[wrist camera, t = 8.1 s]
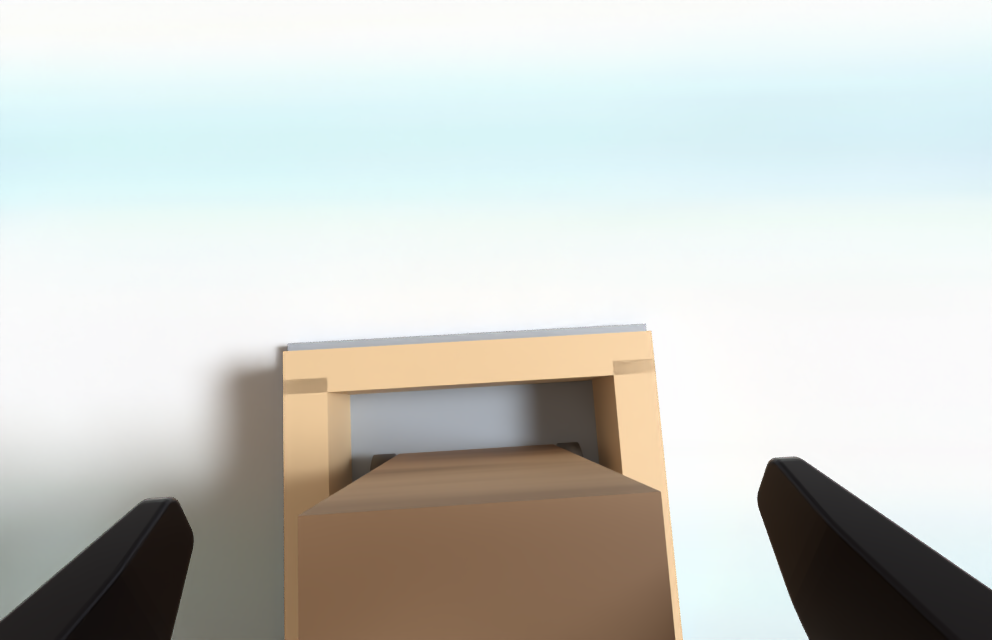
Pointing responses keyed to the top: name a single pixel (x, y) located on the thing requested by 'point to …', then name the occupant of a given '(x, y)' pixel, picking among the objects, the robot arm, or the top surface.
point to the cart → (486, 551)
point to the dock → (466, 410)
